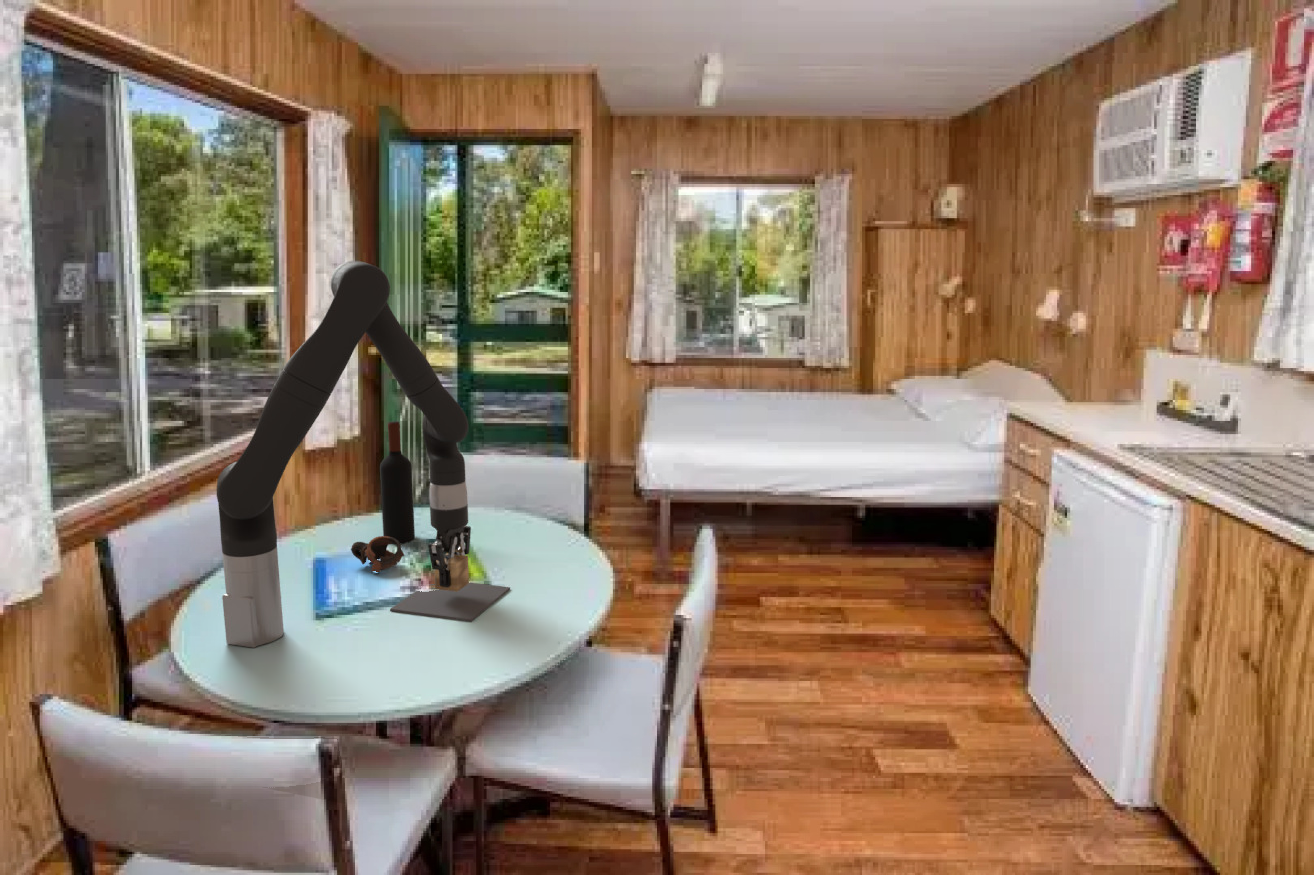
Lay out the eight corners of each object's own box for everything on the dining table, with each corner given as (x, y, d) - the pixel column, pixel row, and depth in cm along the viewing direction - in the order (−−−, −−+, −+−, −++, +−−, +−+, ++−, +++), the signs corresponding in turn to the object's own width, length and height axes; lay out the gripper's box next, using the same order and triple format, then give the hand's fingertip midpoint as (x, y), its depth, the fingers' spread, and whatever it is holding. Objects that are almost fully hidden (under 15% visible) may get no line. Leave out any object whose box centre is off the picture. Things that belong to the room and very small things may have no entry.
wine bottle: (377, 542, 223) (371, 423, 217) (394, 533, 230) (389, 418, 224) (404, 545, 221) (398, 425, 215) (420, 536, 228) (415, 420, 222)
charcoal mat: (471, 621, 176) (471, 619, 176) (390, 611, 181) (390, 608, 181) (510, 589, 193) (510, 587, 193) (435, 580, 198) (435, 578, 198)
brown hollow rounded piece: (406, 560, 212) (409, 536, 207) (394, 590, 204) (398, 566, 199) (355, 548, 210) (357, 524, 205) (341, 578, 203) (343, 554, 198)
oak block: (457, 591, 183) (456, 563, 182) (435, 588, 184) (434, 561, 183) (468, 583, 188) (467, 555, 187) (447, 580, 189) (446, 553, 188)
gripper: (448, 514, 175) (451, 596, 178) (481, 495, 188) (484, 572, 192) (413, 511, 177) (417, 592, 180) (449, 492, 190) (452, 568, 194)
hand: (452, 581), depth 186 cm, fingers closed on oak block, 5 cm apart
